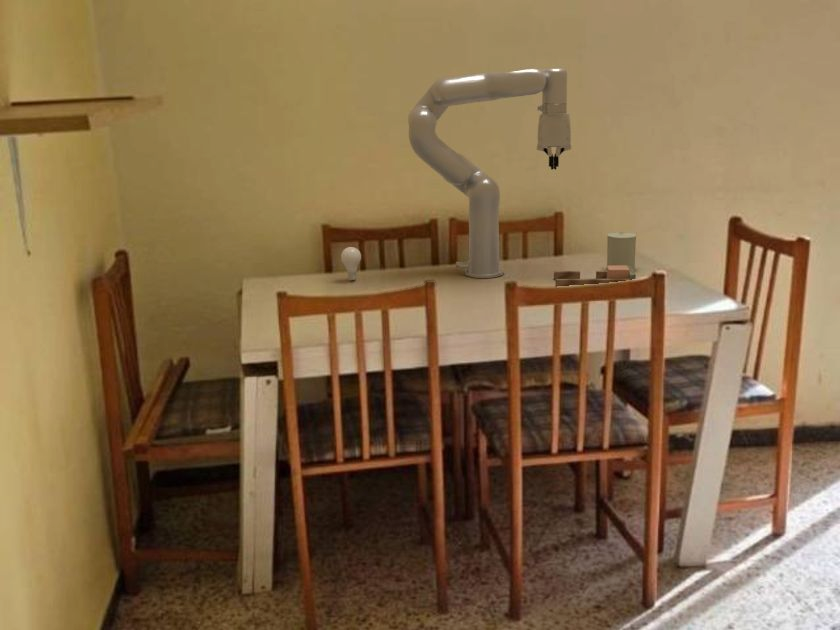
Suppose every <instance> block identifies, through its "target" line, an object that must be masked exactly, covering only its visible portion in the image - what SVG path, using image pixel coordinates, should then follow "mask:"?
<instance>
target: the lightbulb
mask: <svg viewBox="0 0 840 630" xmlns="http://www.w3.org/2000/svg"><path fill="white" fill-rule="evenodd" d="M340 259H341V262H342V264H343V265H344V266H345V269H346V271H347V279H348V280H349V281H351V282H354V281H355V280H357V270H358V266H359V264H360V263H361V260H362V254H361V252H360V250H359V249H358V248H357V247H353V246H348V247H346V248H344V249H343V250H342V251H341V255H340Z"/></svg>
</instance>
